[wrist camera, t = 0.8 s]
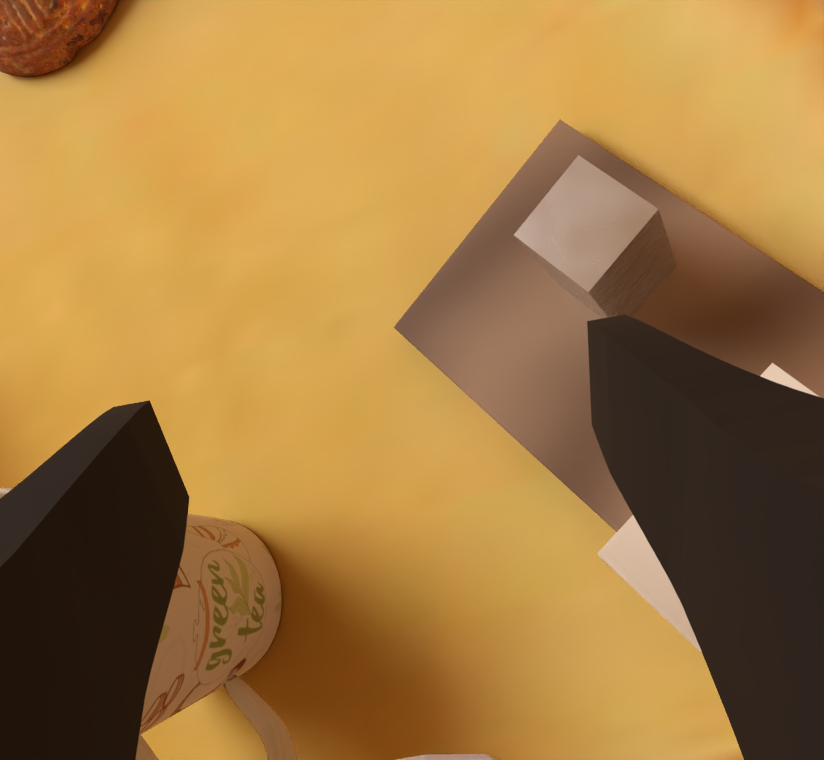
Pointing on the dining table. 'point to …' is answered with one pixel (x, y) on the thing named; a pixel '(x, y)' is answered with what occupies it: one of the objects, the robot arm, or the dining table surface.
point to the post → (599, 241)
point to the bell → (47, 32)
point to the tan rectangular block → (640, 562)
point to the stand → (567, 317)
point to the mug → (217, 630)
